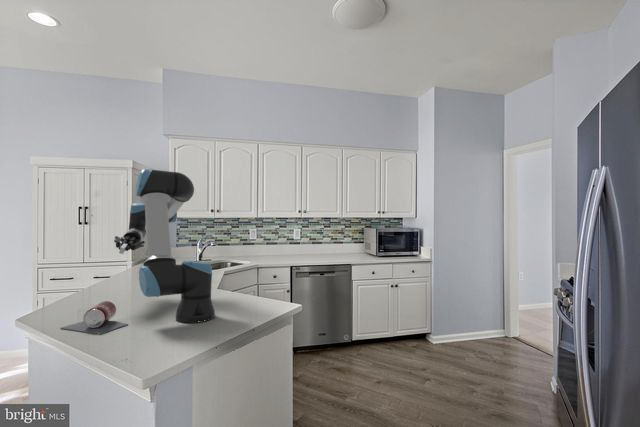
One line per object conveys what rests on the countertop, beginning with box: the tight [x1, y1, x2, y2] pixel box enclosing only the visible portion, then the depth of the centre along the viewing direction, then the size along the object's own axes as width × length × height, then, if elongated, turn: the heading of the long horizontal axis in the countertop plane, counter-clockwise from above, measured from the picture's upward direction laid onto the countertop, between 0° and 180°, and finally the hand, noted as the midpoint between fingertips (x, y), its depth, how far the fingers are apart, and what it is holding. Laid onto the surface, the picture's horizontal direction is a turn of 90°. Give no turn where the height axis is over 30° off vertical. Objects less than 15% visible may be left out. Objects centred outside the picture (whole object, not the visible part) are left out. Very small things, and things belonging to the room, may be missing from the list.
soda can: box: [83, 300, 117, 328], centre depth 127 cm, size 7×7×12 cm
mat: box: [60, 320, 129, 336], centre depth 124 cm, size 18×12×1 cm, turn 74°
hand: (121, 250), depth 144 cm, fingers closed
